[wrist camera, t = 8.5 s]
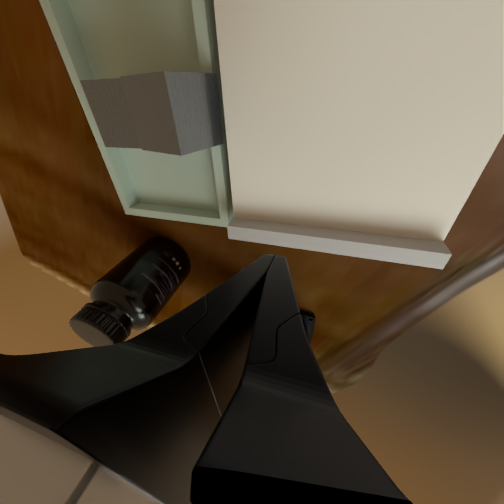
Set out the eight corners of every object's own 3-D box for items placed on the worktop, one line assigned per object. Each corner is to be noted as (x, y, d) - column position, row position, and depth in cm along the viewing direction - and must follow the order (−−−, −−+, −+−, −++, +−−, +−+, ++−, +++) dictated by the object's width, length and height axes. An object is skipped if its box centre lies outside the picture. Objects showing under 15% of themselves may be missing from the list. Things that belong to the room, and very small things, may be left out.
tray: (236, 217, 22) (229, 227, 21) (138, 206, 26) (125, 214, 24) (210, -88, 12) (191, -114, 10) (48, -43, 15) (15, -58, 13)
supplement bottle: (167, 280, 32) (99, 358, 23) (136, 242, 29) (44, 313, 20) (202, 273, 29) (138, 360, 20) (171, 228, 26) (79, 306, 17)
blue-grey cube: (223, 143, 16) (181, 155, 14) (185, 139, 18) (141, 149, 15) (216, 73, 14) (163, 71, 11) (173, 77, 16) (119, 76, 13)
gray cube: (149, 148, 16) (105, 147, 17) (180, 138, 19) (141, 137, 20) (129, 77, 14) (79, 80, 15) (168, 78, 17) (124, 81, 18)
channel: (422, 234, 18) (442, 269, 14) (245, 214, 22) (228, 238, 18) (621, -176, 8) (838, -377, 4) (229, -77, 12) (184, -143, 8)
